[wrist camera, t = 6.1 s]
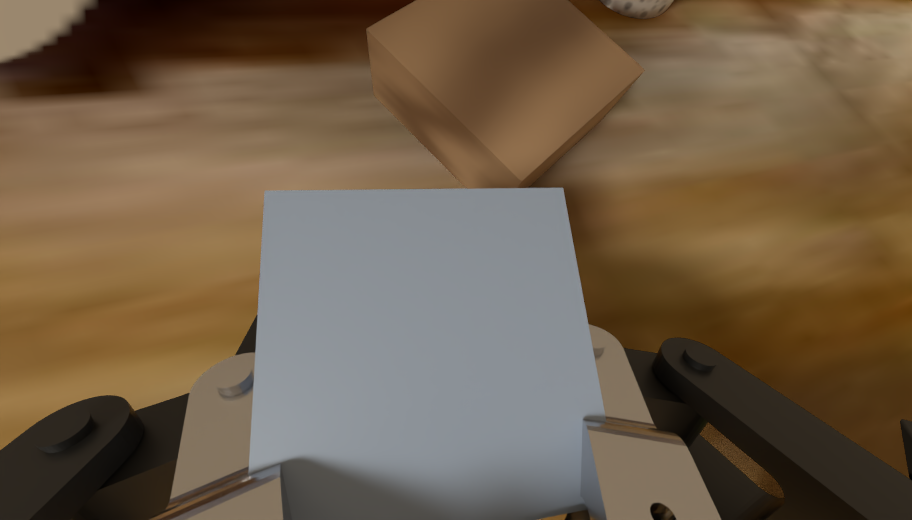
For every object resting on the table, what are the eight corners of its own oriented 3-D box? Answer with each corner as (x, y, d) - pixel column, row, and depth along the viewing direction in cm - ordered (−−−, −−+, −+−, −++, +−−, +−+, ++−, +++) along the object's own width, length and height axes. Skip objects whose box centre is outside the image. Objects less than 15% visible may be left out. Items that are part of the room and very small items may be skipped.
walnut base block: (374, 99, 17) (366, 28, 13) (488, 24, 20) (509, -53, 16) (494, 219, 16) (521, 181, 12) (596, 125, 19) (645, 70, 15)
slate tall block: (361, 406, 13) (242, 578, 3) (359, 295, 14) (264, 191, 4) (470, 392, 14) (621, 502, 4) (460, 288, 15) (562, 187, 5)
